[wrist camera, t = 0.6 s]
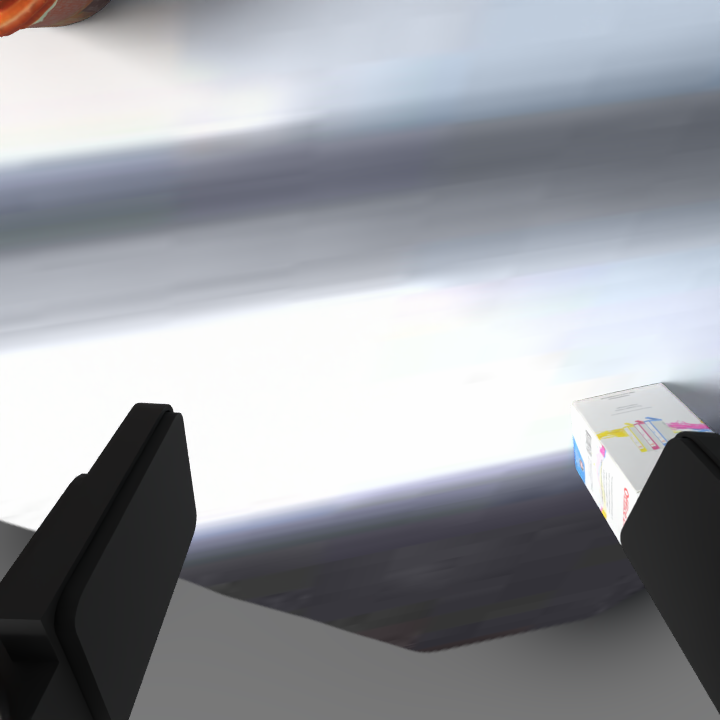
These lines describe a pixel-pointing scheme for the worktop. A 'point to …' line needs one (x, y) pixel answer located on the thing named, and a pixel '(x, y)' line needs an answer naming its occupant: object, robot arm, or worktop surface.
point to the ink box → (625, 443)
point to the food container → (44, 13)
